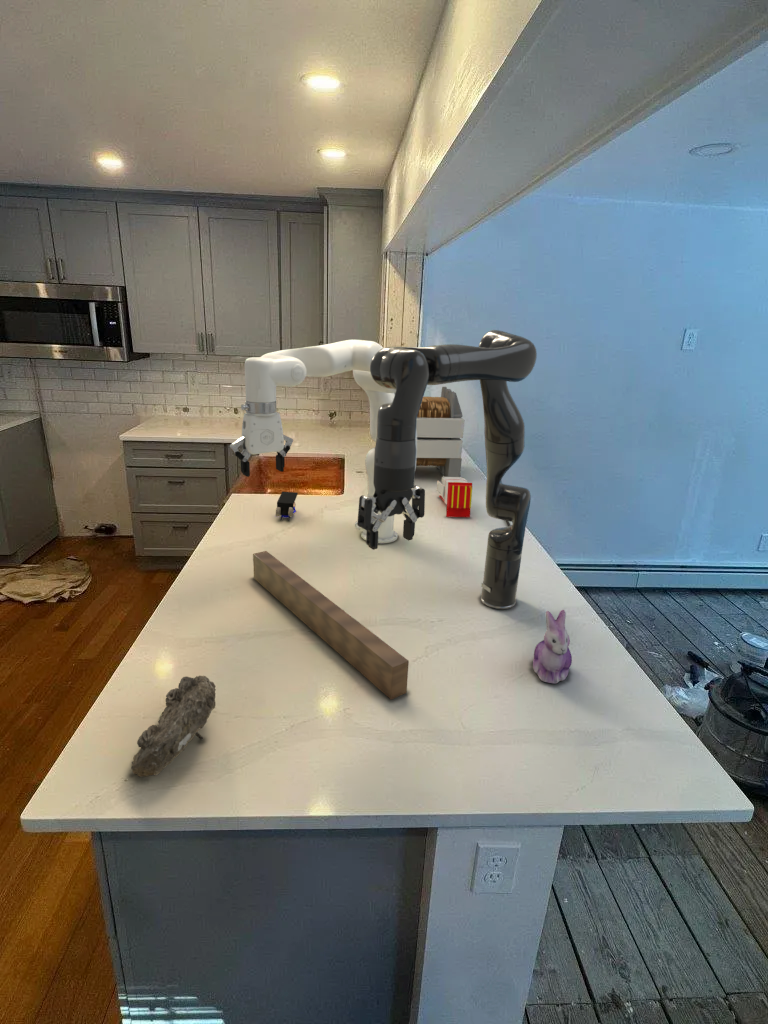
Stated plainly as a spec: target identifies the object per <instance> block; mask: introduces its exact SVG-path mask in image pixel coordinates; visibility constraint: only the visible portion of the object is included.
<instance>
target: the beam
mask: <svg viewBox="0 0 768 1024" xmlns="http://www.w3.org/2000/svg"><path fill="white" fill-rule="evenodd" d="M252 562H253V563H252V564H253V579H254V580H255V581H256V582H257V583H259V585H261V587H263V588H264V589H265V590H266V591H267V592H269V593H270V594H271V595H272V596H273V597H274V598H275V599H276V600H278V601H279V602H280V603H281V604H282V605H283V606H284V607H286V608H287V609H288V610H289V611H290V613H292V614H293V615H294V616H296V617H297V618H298V619H299V620H300V621H301V622H302V623H304V624H305V625H306V626H307V627H308V628H309V629H311V631H313V632H314V633H315V634H316V635H317V636H318V637H319V638H320V639H322V640H323V641H324V642H325V643H326V644H327V645H328V646H330V647H331V648H332V649H333V650H334V651H335V652H336V653H338V654H339V655H340V656H341V657H342V658H344V660H345V661H347V662H348V663H349V664H350V665H351V666H352V667H353V668H354V669H356V670H357V671H358V672H359V673H360V674H361V675H363V677H365V678H366V679H367V680H368V681H369V682H370V683H372V685H374V686H375V687H376V688H377V689H378V690H379V691H380V692H382V693H383V694H384V695H385V696H386V697H387V698H388V699H389V700H391V701H392V700H394V699H397V698H398V697H401V696H403V695H405V694H407V693H408V678H409V665H410V661H409V659H407V658H406V657H405V656H403V655H402V654H401V653H399V652H398V651H396V649H394V648H393V647H392V646H390V645H389V644H388V643H386V642H385V641H384V640H382V639H381V638H380V637H379V636H377V635H376V634H375V633H373V632H372V631H371V630H369V629H368V628H367V627H366V626H364V624H362V623H360V622H359V621H358V620H357V619H355V618H354V617H353V616H351V615H350V614H349V613H347V612H346V611H345V610H344V609H343V608H341V607H340V606H338V605H337V604H336V603H335V602H333V601H332V600H330V598H328V597H327V596H326V595H324V594H323V593H321V592H320V591H319V590H318V589H317V588H315V587H314V586H313V585H311V584H310V583H309V582H307V581H306V580H305V579H303V578H302V577H301V576H300V575H298V574H297V573H296V572H294V571H293V570H292V569H290V568H289V567H288V566H286V565H285V564H284V563H282V562H281V561H280V560H279V559H278V558H276V557H275V555H274V556H273V555H272V554H271V553H270V552H268V551H267V550H263V551H259V552H255V553H253V554H252Z"/></svg>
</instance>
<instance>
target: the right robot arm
mask: <svg viewBox="0 0 768 1024" xmlns="http://www.w3.org/2000/svg"><path fill="white" fill-rule="evenodd" d="M537 357H538V353H537V348H536V345H535V343H533V342H532V341H531V340H530V339H528V338H526V337H524V336H521V335H517V334H515V333H510V332H508V331H504V330H499V329H491V330H489V331H487V332H486V333H485V334H484V335H483V336H482V337H481V339H480V341H479V344H478V346H474V345H467V344H466V345H465V344H456V343H455V344H454V343H452V344H451V343H450V344H437V345H429V346H419V347H418V346H387V347H383V349H381V350H380V351H378V352H377V353H376V354H375V355H374V357H373V358H372V360H371V364H370V373H371V376H372V378H373V380H374V381H375V382H376V383H377V384H378V385H380V386H382V387H385V388H389V389H395V390H396V393H395V397H394V399H393V402H392V403H386V404H383V405H381V406H380V408H379V410H378V416H377V438H376V442H375V445H374V447H375V456H374V482H373V483H374V487H375V493H374V495H373V496H371V497H367V495H363V494H362V495H360V496H359V499H358V510H357V525H358V526H359V527H361V528H363V529H365V530H367V534H366V540H365V543H366V545H367V547H368V548H370V549H371V550H374V551H375V550H377V549H378V548H379V543H378V531H377V530H378V528H379V527H380V525H381V523H382V522H385V520H386V519H387V517H388V516H389V517H390V516H393V515H394V516H395V515H403V517H404V518H405V519H403V529H402V538H403V539H404V540H406V541H408V542H409V541H413V539H414V536H415V530H416V522H417V521H418V519H420V518H424V516H425V507H426V490H425V488H423V487H420V486H419V485H415V475H416V469H415V461H416V442H415V438H416V422H417V414H418V411H419V408H420V405H421V402H422V399H423V397H425V392H426V390H427V387H428V386H438V385H444V384H453V383H460V382H468V381H479V385H480V391H481V397H482V408H483V420H484V422H483V423H484V425H483V427H484V429H483V430H484V431H483V432H484V448H485V461H486V462H485V463H486V488H485V510H486V513H487V515H488V516H489V517H491V518H493V519H497V520H500V521H505V522H506V525H507V526H503V527H497V528H493V529H492V530H490V531H489V533H488V535H487V543H486V551H485V553H486V554H485V561H484V571H483V580H482V582H481V583H480V584H481V585H480V587H481V595H480V601H481V603H483V605H485V606H487V607H489V608H491V609H496V610H509V609H512V608H513V607H515V606H516V599H517V593H518V584H519V576H520V569H521V562H522V561H521V560H522V554H523V547H524V540H525V534H526V528H527V521H528V518H529V517H528V516H529V512H530V506H531V500H532V499H531V498H532V495H531V491H530V489H529V488H527V487H524V486H523V487H522V486H517V485H513V484H512V485H511V484H506V483H503V481H502V480H503V478H504V476H505V474H506V473H507V472H508V471H509V470H510V469H511V468H512V467H513V466H514V465H515V464H516V462H517V461H518V460H519V459H520V458H521V456H522V454H523V453H524V450H525V445H526V428H525V426H526V425H525V421H524V418H523V415H522V413H521V411H520V409H519V407H518V405H517V404H516V402H515V400H514V398H513V396H512V394H511V392H510V389H509V386H508V382H510V383H518V382H522V381H524V380H525V379H526V378H528V377H529V376H530V375H531V373H532V372H533V370H534V367H535V365H536V362H537ZM410 501H411V504H410ZM374 503H375V506H373V505H374ZM372 508H373V509H372ZM379 511H380V512H381V513H382V514H381V515H378V512H379ZM375 520H376V521H375ZM374 521H375V522H374ZM510 522H511V523H512V524H511V523H510ZM373 523H374V524H373Z"/></svg>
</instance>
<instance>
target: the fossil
mask: <svg viewBox="0 0 768 1024" xmlns="http://www.w3.org/2000/svg"><path fill="white" fill-rule="evenodd" d="M216 686H217V685H215V682H213V681H211V680H210V679H209V678H208V677H207V676H206V675H196V676H195V677H191V676H183V677H182V678H180V681H179V683H178V687H175V688H171V689H170V690H169V691H168V692H167V693H166V695H165V706H166V707H165V708H164V709H163V711H162V712H161V715H160V716H159V718H158V721H157V723H158V724H157V725H156V724H151V725H150V726H148V728H147V729H145V730H144V731H142V733H141V735H140V736H139V737H138V739H137V742H136V744H137V746H138V748H139V750H138V751H137V753H136V754H134V755H133V761H132V762H131V766H130V768H131V770H132V774H134V775H137V776H139V777H141V778H142V777H147V776H158V775H159V774H161V772H163V770H164V769H165V768H166V767H167V766H169V765H170V764H171V763H172V762H173V761H174V760H175V759H176V758H177V757H178V756H179V755H180V754H181V753H182V752H183V751H185V748H187V746H188V743H190V742H191V741H192V740H193V738H195V736H196V737H197V738H198V739H199V740H200V741H202V740H204V737H203V735H201V734H200V733H199V732H198V731H199V729H203V728H204V726H205V725H206V723H207V722H208V719H209V717H210V715H211V714H212V711H213V710H214V709H215V708H216V690H217V689H216Z"/></svg>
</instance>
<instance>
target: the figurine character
mask: <svg viewBox="0 0 768 1024" xmlns="http://www.w3.org/2000/svg"><path fill="white" fill-rule="evenodd" d="M298 494H299V493H298V492H293V491H281V493H280V495H279V497H278V500H277V501H276V508H275V517H279V520H280V521H283V518H284V519H286V518H287V521H288V522H289V521H290V520H291V517H294V514H295V513H297V509H296V505H297V504H296V500H297V497H298Z"/></svg>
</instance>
